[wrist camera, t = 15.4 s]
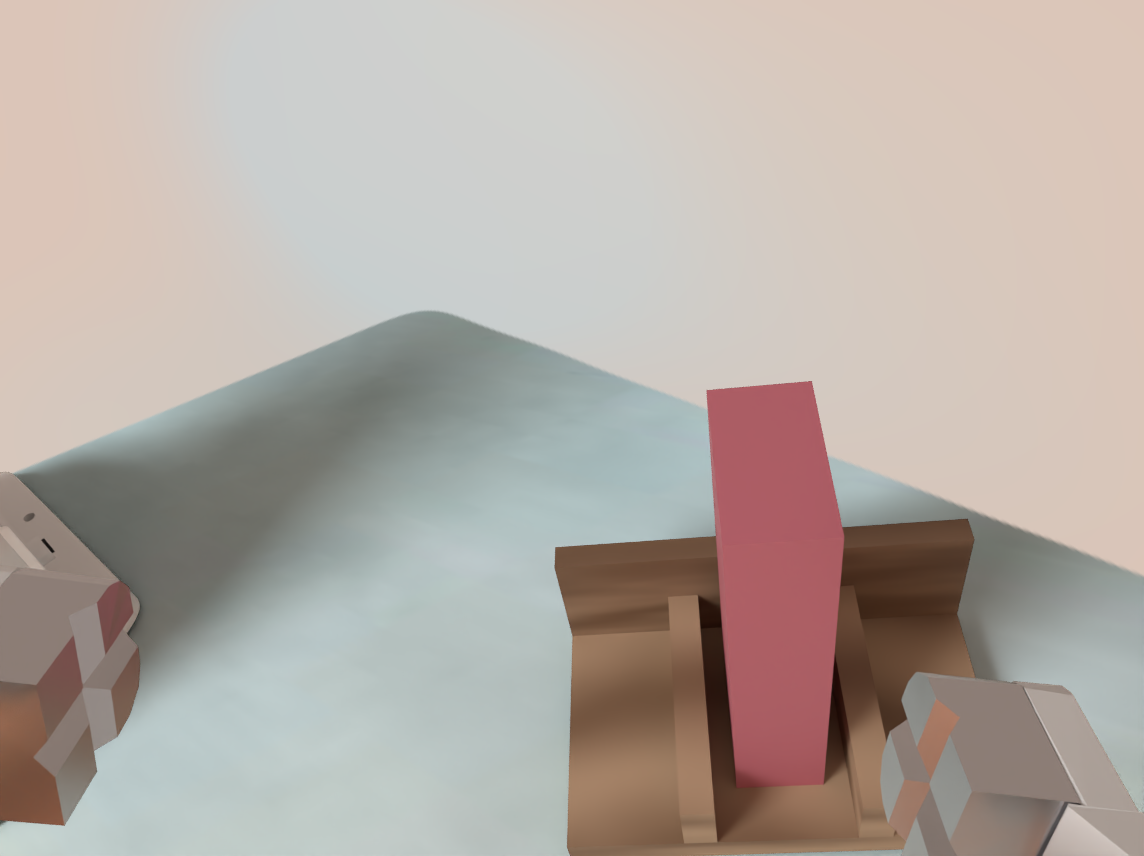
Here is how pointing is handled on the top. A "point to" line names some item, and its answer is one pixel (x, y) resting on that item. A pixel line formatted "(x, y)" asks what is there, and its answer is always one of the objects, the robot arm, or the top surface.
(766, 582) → the red rectangular block
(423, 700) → the top surface
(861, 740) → the book rack
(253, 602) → the top surface
